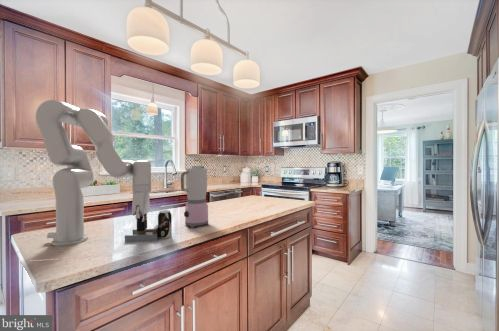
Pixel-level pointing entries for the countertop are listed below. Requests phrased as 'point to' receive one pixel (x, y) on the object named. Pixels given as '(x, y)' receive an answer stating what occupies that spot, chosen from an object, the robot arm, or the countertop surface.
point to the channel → (141, 236)
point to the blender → (195, 196)
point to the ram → (155, 229)
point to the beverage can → (164, 224)
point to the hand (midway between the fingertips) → (142, 229)
